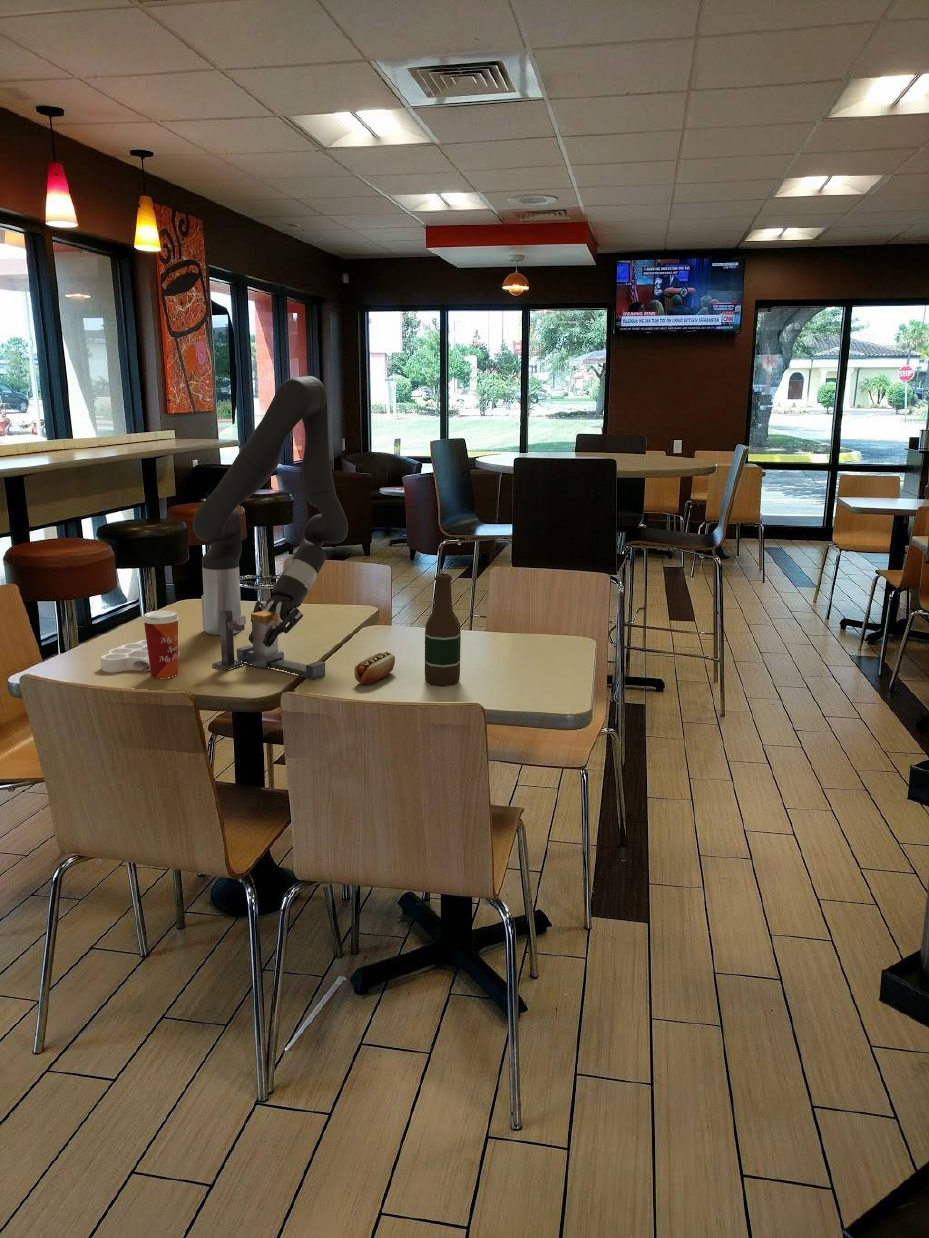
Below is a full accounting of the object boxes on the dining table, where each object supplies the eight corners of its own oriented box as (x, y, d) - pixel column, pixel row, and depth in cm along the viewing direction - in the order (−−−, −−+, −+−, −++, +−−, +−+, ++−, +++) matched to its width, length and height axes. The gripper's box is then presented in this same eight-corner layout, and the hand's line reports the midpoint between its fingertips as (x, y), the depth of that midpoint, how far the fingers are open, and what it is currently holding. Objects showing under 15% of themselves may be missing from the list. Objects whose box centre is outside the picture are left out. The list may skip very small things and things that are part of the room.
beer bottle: (423, 676, 206) (424, 571, 200) (458, 676, 206) (460, 571, 200) (425, 687, 198) (426, 578, 192) (461, 686, 199) (463, 578, 193)
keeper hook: (212, 666, 210) (209, 611, 207) (229, 661, 214) (226, 607, 211) (236, 673, 206) (234, 616, 203) (253, 667, 210) (251, 612, 207)
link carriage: (247, 664, 212) (245, 613, 209) (265, 658, 216) (263, 609, 213) (266, 668, 208) (264, 617, 206) (284, 662, 213) (282, 613, 210)
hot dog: (400, 672, 208) (400, 651, 207) (371, 689, 197) (371, 666, 195) (380, 670, 210) (380, 649, 209) (351, 686, 199) (350, 663, 197)
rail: (237, 661, 215) (236, 648, 214) (249, 657, 218) (249, 645, 217) (313, 679, 202) (312, 666, 201) (325, 675, 205) (325, 662, 204)
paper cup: (171, 681, 199) (167, 618, 196) (139, 678, 200) (135, 616, 197) (189, 671, 206) (185, 610, 203) (158, 668, 208) (154, 608, 205)
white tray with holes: (141, 678, 203) (86, 671, 207) (188, 656, 219) (136, 650, 224) (140, 663, 202) (84, 656, 206) (187, 643, 219) (135, 637, 223)
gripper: (264, 570, 217) (227, 629, 210) (309, 577, 210) (272, 639, 203) (281, 588, 223) (246, 647, 216) (325, 596, 215) (290, 657, 208)
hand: (258, 643), depth 209 cm, fingers closed on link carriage, 4 cm apart
